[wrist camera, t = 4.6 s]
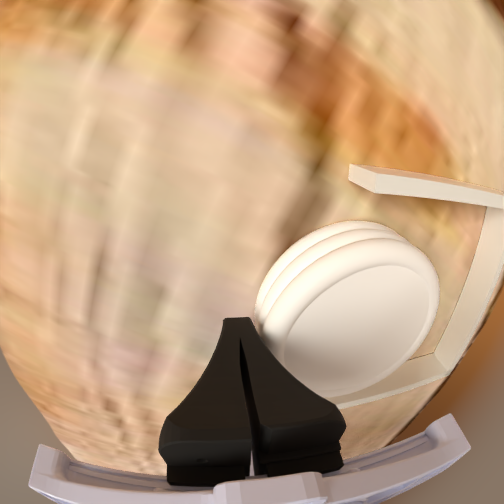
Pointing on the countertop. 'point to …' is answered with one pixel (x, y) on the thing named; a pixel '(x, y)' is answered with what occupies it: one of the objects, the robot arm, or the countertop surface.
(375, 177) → the sorting bin
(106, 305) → the countertop surface
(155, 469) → the countertop surface
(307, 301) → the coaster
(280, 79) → the countertop surface
